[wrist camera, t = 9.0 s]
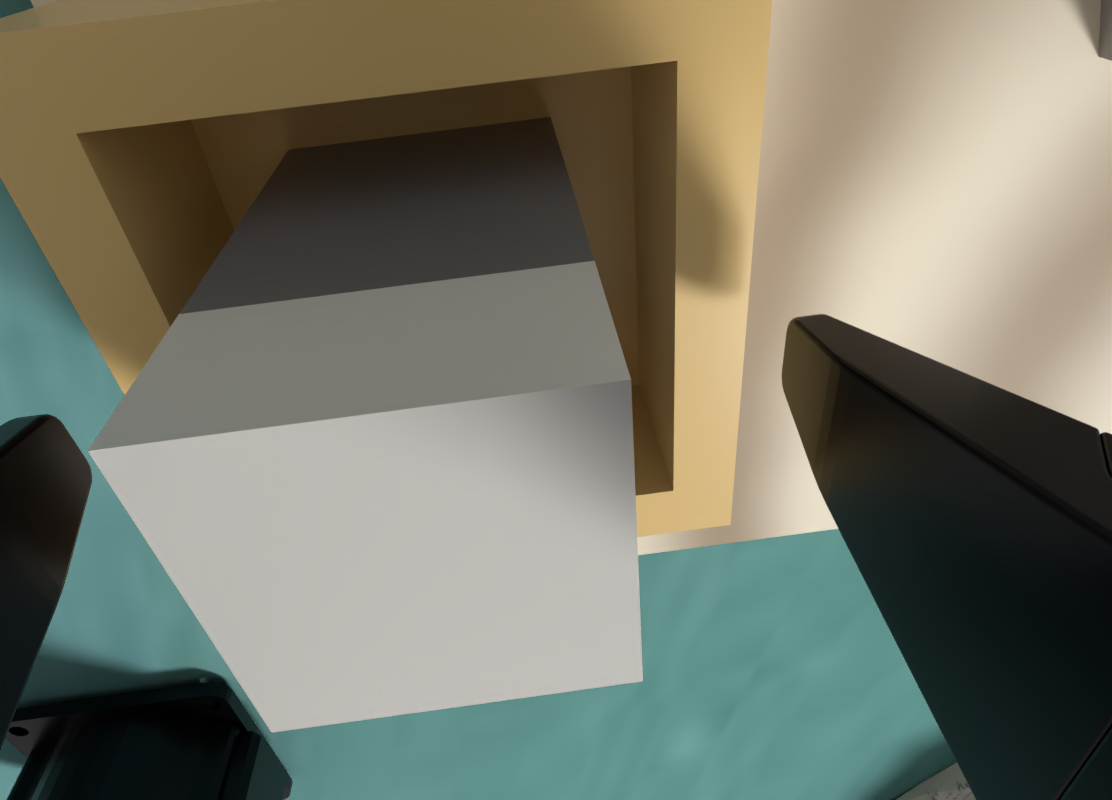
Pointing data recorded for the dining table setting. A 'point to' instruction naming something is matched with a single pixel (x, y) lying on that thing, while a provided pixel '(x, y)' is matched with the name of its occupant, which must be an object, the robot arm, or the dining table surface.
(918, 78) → the board
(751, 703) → the dining table surface
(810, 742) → the dining table surface
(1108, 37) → the clip
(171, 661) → the dining table surface
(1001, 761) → the robot arm
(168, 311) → the end holder
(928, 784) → the packaged product
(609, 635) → the connector plug
